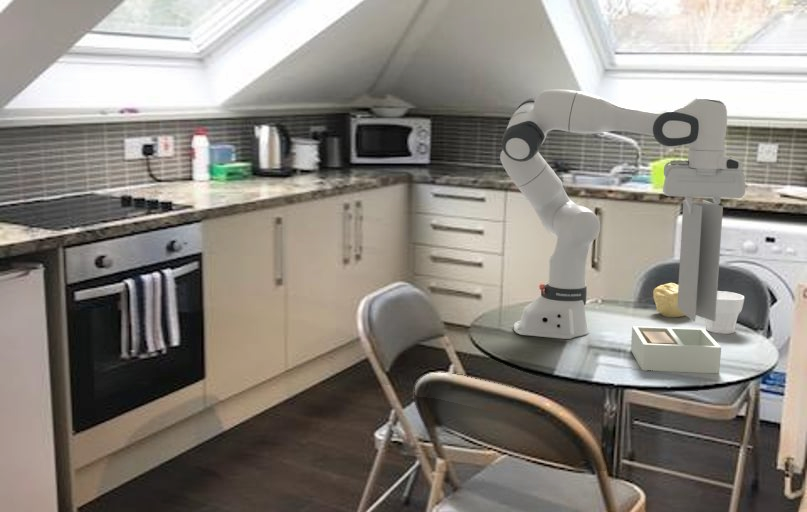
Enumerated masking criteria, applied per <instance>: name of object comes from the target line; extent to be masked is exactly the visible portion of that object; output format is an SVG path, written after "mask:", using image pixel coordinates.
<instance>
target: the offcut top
mask: <svg viewBox="0 0 807 512" xmlns="http://www.w3.org/2000/svg"><path fill="white" fill-rule="evenodd" d="M642 335H643V337H644V339H645V340H646V342H647V343H651V344H675V343H674V342H673V340H672V339H671V338H670V337H669V336H668V335H667V334H666V333H665V332H645V331H643V333H642Z"/></svg>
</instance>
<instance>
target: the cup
mask: <svg viewBox="0 0 807 512" xmlns="http://www.w3.org/2000/svg"><path fill="white" fill-rule="evenodd" d="M744 302H745V295H742V294H740V293H736V292H731V291H725V290H724V291H721V290H717V304H716V319H715V321H712V320H709V319H706V318H704V319H705V330H706V331H707V332H710V333H715V334H722V335H726V334H727V335H728V334H730V335H731V334H734V333H735V331H736V324H737V320H738V318H739V314H740V313H741V312H742V310H743V306H744Z"/></svg>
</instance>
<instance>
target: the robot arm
mask: <svg viewBox="0 0 807 512" xmlns="http://www.w3.org/2000/svg"><path fill="white" fill-rule="evenodd" d="M727 128H728V110H727V106H726V105H725V104H724V102H722V101H720V100H719V99H714V98H710V97H704V96H700V97H699V96H698V97H696V98H695V99H693V100H692V101H690V102H688V103H686V104H684V105H681V106H679V107H676V108H673V109H669V110H665V111H656V112H655V111H648V110H643V109H636V108H629V107H625V106H622V105H619V104H616V103H614V102H612V101H610V100H608V99H605V98H603V97H600V96H598V95H595V94H592V93H589V92H584V91H579V90H572V89H571V90H570V89H561V88H560V89H554V88H553V89H545V90H542V91H541V92H539V93H538V95H537V96H536V98H535V97H534V98H533V97H531V98H529V99H526V100H524V101H523V102H522V103H520V105H518V106H517V108H516V111H514V113H513V115H512V116H511V118H510V119H509V122H508V125H507V126H506V129H505V131H504V133H503V135H502V141H501V147H502V151H501V152H500V155H499V156H500V157H499V158H500V163H501V164H502V167H503V169H504V170H505V172H506V173H507V175H508V177H509V178H510V179H511V182H512V183H513V184H514V185H515V186H516V187H517V188H518V190H519V191H520V192H521V193H522V195H523V196H524V197H525V198H526V200H527V201H528V202H529V203H530V205H531V206H532V207H533V209H534V211H535V213H536V214H537V216H538V218H539V220H540V221H541V225H542V226H543V228H544V229H545V230H546V231H547V232H548V233H550V234H551V235H552V236H554V237H556V244H555V249H554V251H553V254H552V255H551V256H550V258H549V261H548V262H549V263H548V282H547V284H545V283H543V282H541V283H540V284H539V286H538V287H539V290H540V295H541V296H539V297H538V298H536V299H535V300H533V301H532V302H530V303H529V304H527V305H526V306H525V307H524V309H523V311H522V314H521V319H520V320H518V321H516V322H515V323H514V324H513V331H514V333H516V334H519V335H520V336H530V337H531V336H532V337H542V338H543V337H544V338H552V339H562V340H563V339H565V340H566V339H567V340H570V339H573V338H577V337H582V336H586V335H588V333H589V328H588V323H587V315H586V314H587V313H586V304H587V300H588V287H587V285H586V284H587V282H586V280H587V264H588V259H589V254H590V251H591V249H592V244H593V243H594V240H596V238H598V236H599V234H600V231H601V222H600V219H599V217H598V216H597V215H596V213H595V212H593V210H591V209H589V208H588V207H587V206H582V205H580V204H577V203H575V202H574V201H573V200H571V198H569V196H568V194H567V192H566V190H565V188H564V185H563V182H562V180H561V178H560V177H559V176H558V175H557V174H556V172H555V171H554V170H553V168H552V167H551V166H550V164H549V163H548V162H547V161H546V160H545V159H544V157H543V156H542V155H541V154H540V149H541V147H542V145H543V144H544V142H545V140H546V138H547V135H548V133H549V132H551V131H553V130H554V131H562V132H563V131H564V132H568V133H574V134H582V135H583V134H585V135H589V134H590V135H591V134H593V135H596V134H601V133H605V132H606V133H607V132H615V131H619V132H620V131H621V132H629V133H634V134H639V135H640V134H641V135H645V136H646V135H647V136H651V137H654V139H655V140H656V142H658V143H659V144H660V145H662V146H663V147H666V148H676V147H681V146H684V145H685V146H686V145H687V146H688V157H687V160H670V161H669V162H667V163H665V165H664V167H663V175H664V177H665V178H664V179H663V181H664V182H663V186H662V192H663V194H664V195H665V196H667V197H681V198H683V197H684V200H685V201H686V203H687V205H688V206H689V214H692V208H693V206H692V204H691V202H690V201H693V198H712V201H713V203H714V204H717V205H720V203H721V198H723V199H725V198H726V199H727V198H728V199H729V198H730V199H741V198H743V197H744V196H745V195H746V176H745V173H744V172H743V171H742V169H743V168H744V167H743V166H744V162H742V161H741V160H739V159H737V158H732V157H731V156H728V155H727V156H726V153H725V152H726V147H725V138H726V135H727Z"/></svg>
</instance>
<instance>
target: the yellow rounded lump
mask: <svg viewBox="0 0 807 512" xmlns="http://www.w3.org/2000/svg"><path fill="white" fill-rule="evenodd" d="M653 301H654V303H655V307H656V311H657V312H658V313H659V314H660V315H662V316H663V317H667V318H678V317H679V318H680V317H684V316H686V315H685V314H684V313H683V312H681V311H680V310H679V309H677V302H678V284H676V283H674V282H669V283H665V284H660V285H659V286H657V287H655V288H654V289H653Z"/></svg>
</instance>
